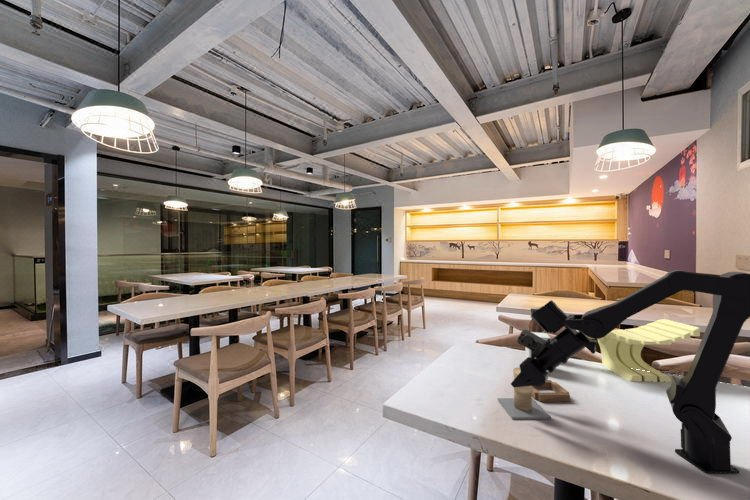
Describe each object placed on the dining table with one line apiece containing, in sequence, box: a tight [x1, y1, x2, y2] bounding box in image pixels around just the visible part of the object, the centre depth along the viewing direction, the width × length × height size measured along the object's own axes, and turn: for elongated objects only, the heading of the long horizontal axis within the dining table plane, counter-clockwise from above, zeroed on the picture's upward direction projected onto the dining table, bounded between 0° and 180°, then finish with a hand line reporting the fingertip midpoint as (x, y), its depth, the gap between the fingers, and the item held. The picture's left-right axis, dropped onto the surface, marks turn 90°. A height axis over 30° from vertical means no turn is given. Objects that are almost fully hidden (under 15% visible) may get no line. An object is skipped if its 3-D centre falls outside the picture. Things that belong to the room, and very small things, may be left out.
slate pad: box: [497, 397, 552, 420], centre depth 83 cm, size 10×10×1 cm
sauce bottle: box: [528, 307, 547, 334], centre depth 123 cm, size 6×6×20 cm
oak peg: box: [513, 367, 533, 411], centre depth 83 cm, size 4×4×10 cm
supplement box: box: [524, 332, 552, 374], centre depth 111 cm, size 7×7×13 cm
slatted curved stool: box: [576, 318, 701, 383], centre depth 106 cm, size 30×16×18 cm, turn 85°
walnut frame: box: [531, 379, 571, 403], centre depth 91 cm, size 10×10×2 cm
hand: (516, 379), depth 84 cm, fingers open, 9 cm apart
